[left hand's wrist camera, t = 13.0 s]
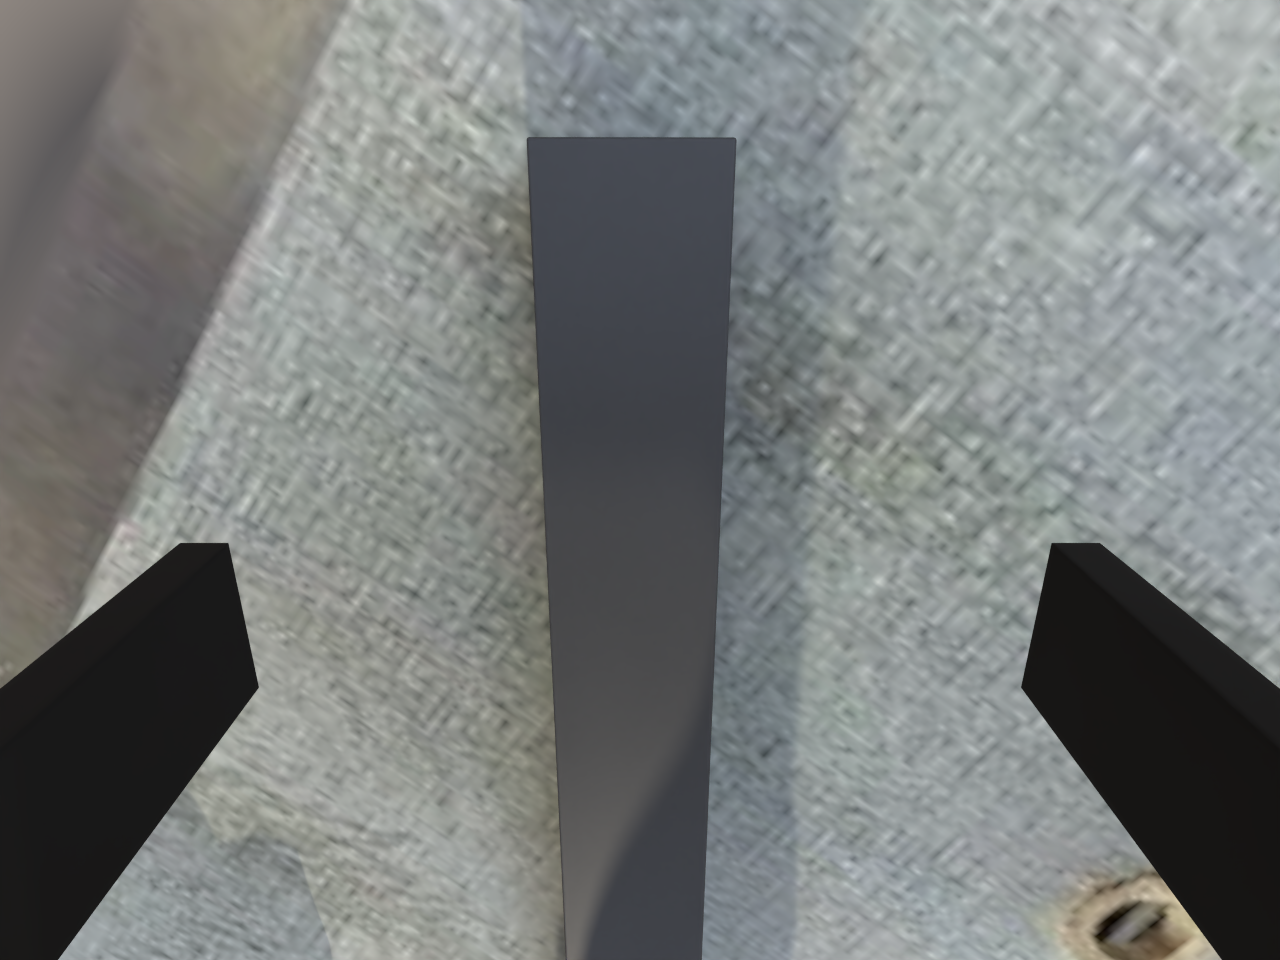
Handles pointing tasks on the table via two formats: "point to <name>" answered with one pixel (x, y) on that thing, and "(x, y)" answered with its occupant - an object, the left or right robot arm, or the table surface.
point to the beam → (632, 519)
